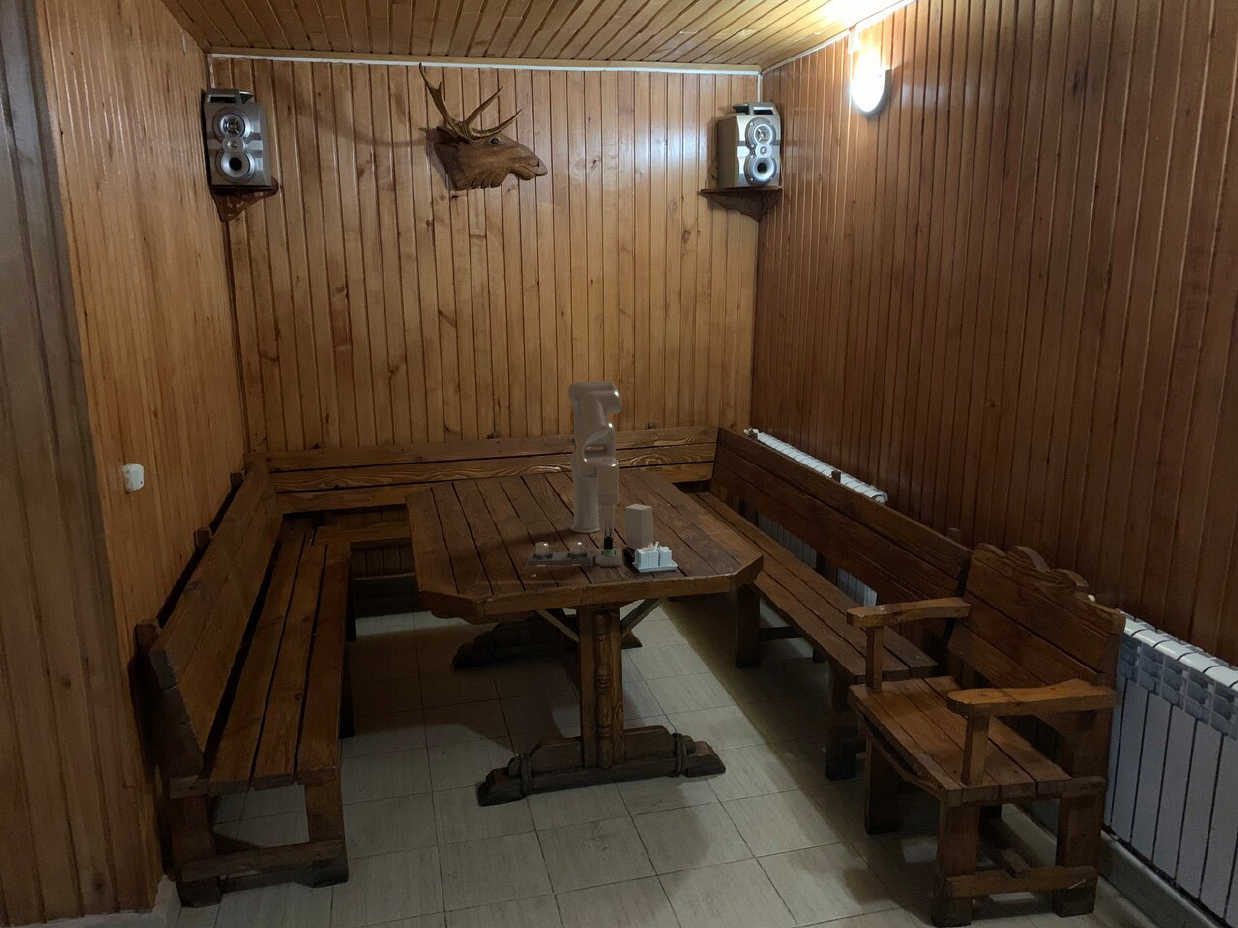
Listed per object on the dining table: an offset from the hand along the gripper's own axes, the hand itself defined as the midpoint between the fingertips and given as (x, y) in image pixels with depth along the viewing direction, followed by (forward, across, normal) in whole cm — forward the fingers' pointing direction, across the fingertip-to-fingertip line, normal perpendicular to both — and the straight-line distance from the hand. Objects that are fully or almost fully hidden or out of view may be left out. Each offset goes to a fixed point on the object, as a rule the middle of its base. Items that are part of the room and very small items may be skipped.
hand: (608, 548), depth 311 cm
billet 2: (+4, 0, -11) cm, 11 cm away
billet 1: (+4, 0, -23) cm, 23 cm away
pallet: (+5, 0, -17) cm, 18 cm away
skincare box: (+5, -16, +11) cm, 20 cm away
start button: (+4, 0, 0) cm, 4 cm away
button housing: (+5, 0, 0) cm, 5 cm away
